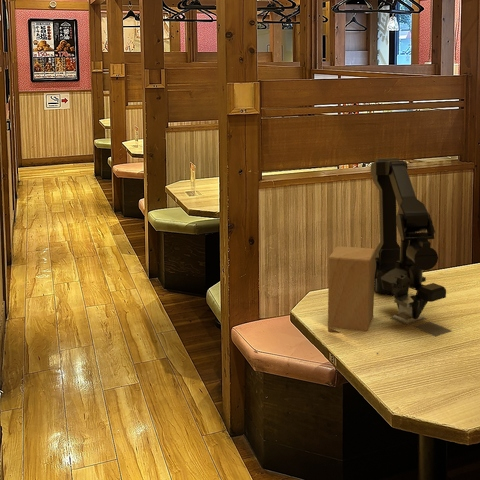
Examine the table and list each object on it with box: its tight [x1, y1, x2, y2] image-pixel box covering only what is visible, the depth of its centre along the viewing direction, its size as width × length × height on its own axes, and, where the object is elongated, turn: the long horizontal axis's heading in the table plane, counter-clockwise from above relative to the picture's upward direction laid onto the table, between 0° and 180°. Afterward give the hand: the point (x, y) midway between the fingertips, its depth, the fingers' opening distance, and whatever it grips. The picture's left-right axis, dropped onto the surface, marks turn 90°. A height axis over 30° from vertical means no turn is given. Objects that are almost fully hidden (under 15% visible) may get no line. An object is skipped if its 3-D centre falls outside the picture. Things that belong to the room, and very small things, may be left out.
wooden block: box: [327, 245, 376, 334], centre depth 167 cm, size 10×10×20 cm
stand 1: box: [390, 316, 427, 326], centre depth 171 cm, size 6×7×2 cm
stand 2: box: [413, 321, 452, 338], centre depth 164 cm, size 7×6×2 cm
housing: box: [393, 293, 425, 324], centre depth 170 cm, size 4×6×6 cm
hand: (408, 315), depth 171 cm, fingers closed on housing, 4 cm apart
